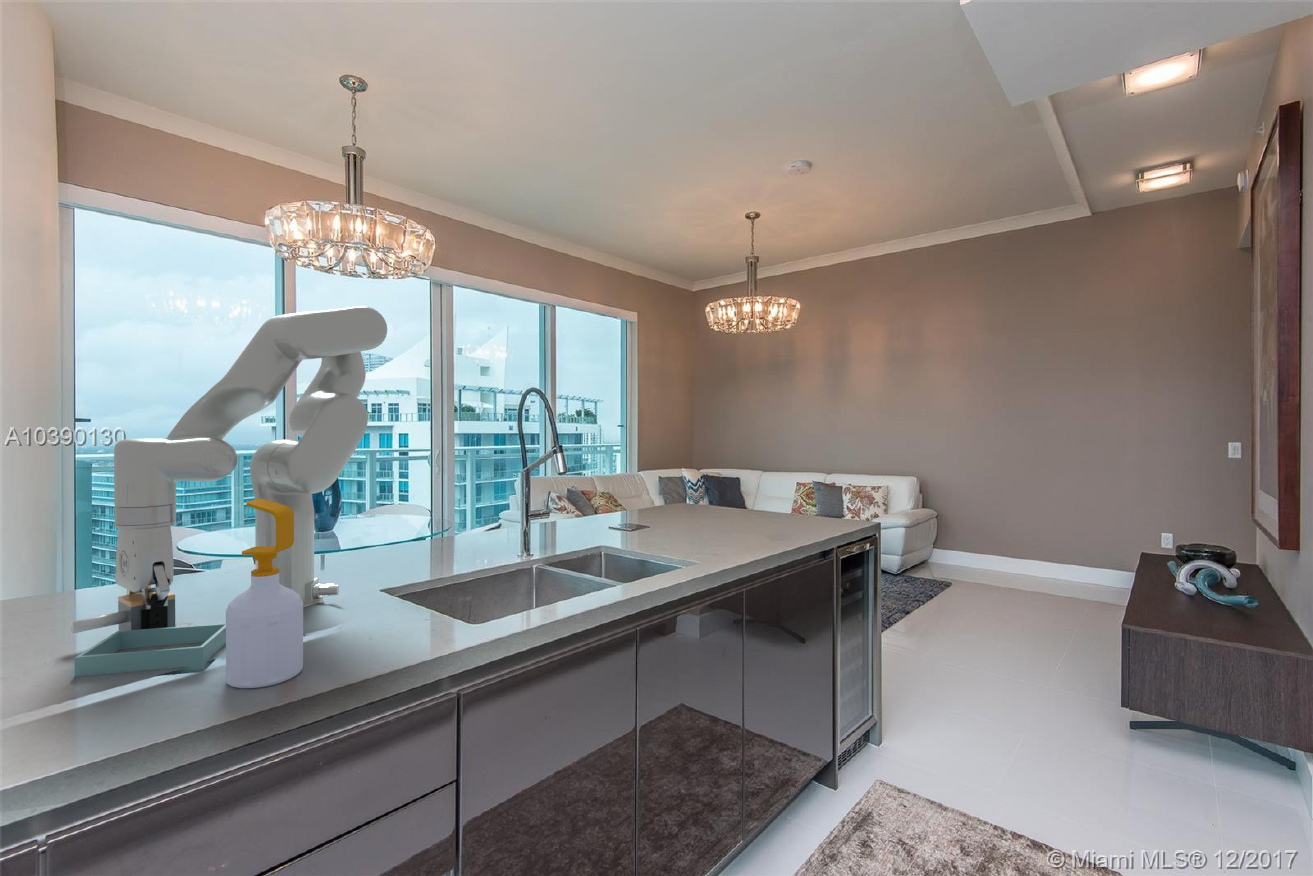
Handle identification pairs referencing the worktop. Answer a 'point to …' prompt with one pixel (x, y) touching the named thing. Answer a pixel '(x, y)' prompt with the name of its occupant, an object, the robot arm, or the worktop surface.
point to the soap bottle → (265, 616)
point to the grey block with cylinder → (124, 615)
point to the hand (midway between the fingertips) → (147, 627)
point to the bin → (196, 658)
